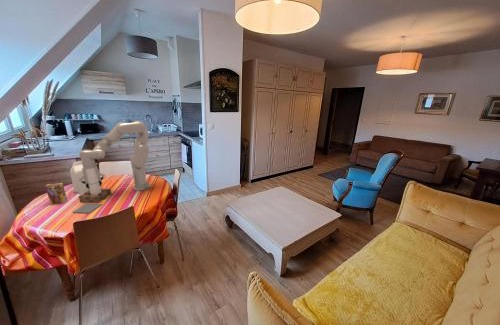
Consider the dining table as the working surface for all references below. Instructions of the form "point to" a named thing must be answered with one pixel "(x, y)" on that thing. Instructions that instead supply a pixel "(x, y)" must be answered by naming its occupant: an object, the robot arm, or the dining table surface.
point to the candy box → (56, 193)
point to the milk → (76, 175)
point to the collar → (95, 196)
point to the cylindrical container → (93, 182)
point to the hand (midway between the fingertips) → (94, 186)
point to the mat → (87, 208)
